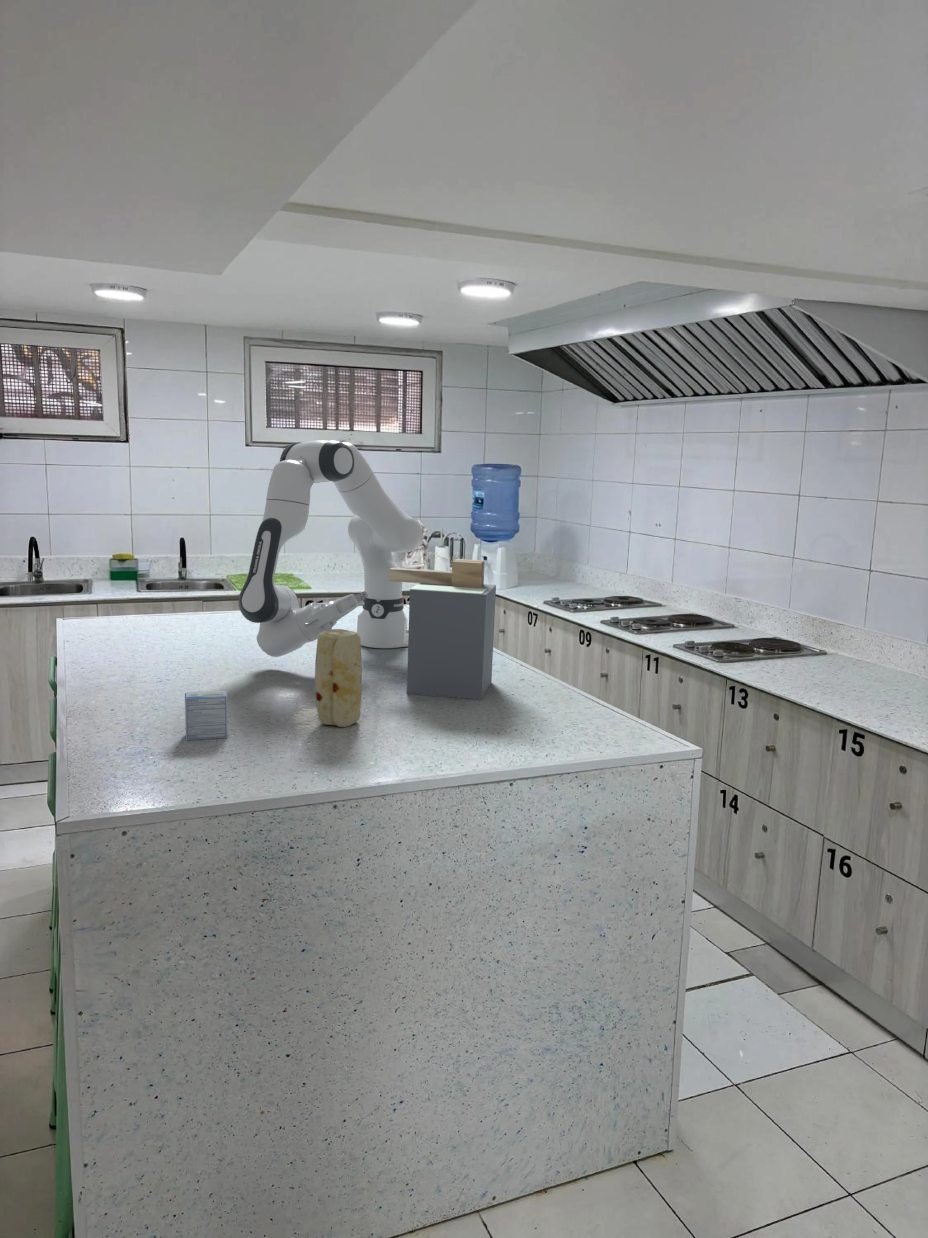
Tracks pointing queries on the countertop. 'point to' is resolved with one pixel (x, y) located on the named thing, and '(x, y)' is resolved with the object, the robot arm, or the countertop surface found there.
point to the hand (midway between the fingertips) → (361, 596)
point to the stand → (450, 640)
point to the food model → (338, 677)
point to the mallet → (444, 574)
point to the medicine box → (206, 715)
